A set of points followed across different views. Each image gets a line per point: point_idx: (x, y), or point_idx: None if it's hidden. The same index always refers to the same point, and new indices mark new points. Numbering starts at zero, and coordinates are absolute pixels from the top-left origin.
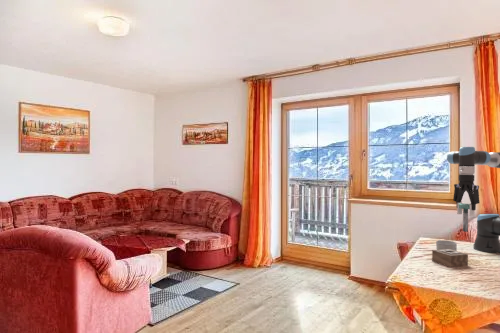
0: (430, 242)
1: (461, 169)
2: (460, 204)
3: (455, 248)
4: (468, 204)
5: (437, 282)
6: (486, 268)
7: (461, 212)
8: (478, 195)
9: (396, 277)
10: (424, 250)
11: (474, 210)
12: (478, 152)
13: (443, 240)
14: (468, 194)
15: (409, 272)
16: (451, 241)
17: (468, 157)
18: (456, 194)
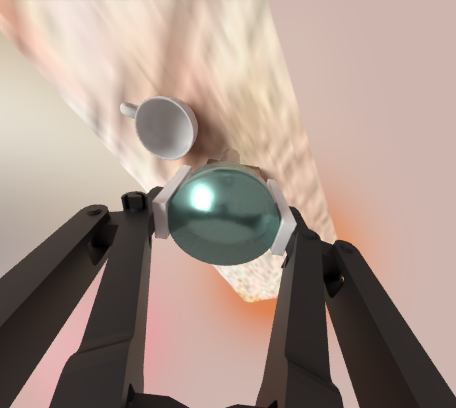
0: None
1: None
2: (211, 261)
3: (195, 125)
4: (250, 235)
5: (279, 277)
6: (292, 151)
7: (188, 174)
8: (406, 335)
9: (242, 295)
10: (123, 135)
11: (283, 196)
12: None
13: (138, 111)
14: (270, 351)
15: (236, 274)
16: (157, 99)
17: None
18: (73, 298)
